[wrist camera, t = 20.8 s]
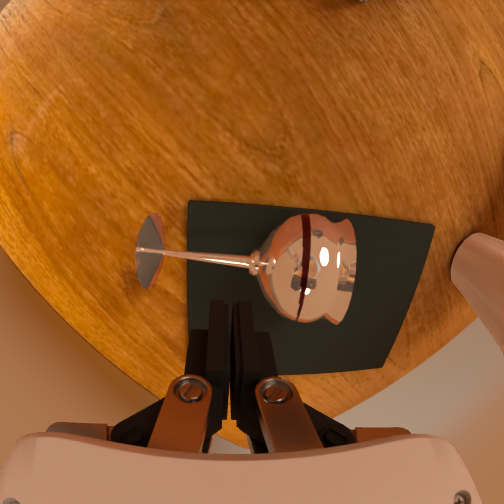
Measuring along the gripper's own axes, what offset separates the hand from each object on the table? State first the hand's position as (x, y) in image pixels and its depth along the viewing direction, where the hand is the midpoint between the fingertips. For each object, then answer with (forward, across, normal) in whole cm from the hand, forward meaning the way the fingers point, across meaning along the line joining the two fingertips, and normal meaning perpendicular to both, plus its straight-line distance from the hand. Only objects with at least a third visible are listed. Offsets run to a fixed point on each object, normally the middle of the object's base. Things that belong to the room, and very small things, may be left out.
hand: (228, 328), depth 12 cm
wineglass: (+7, +5, 0) cm, 9 cm away
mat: (+10, -7, +5) cm, 13 cm away
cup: (+10, -24, 0) cm, 26 cm away
